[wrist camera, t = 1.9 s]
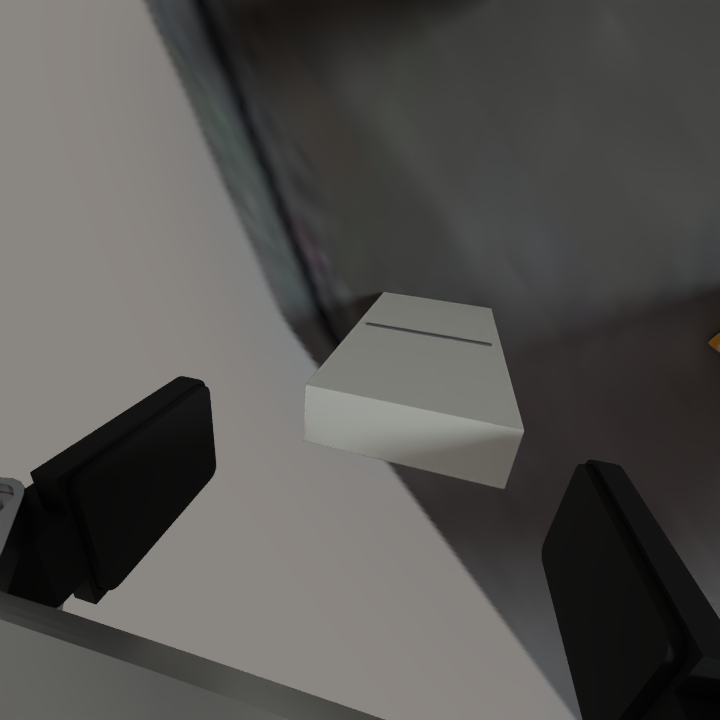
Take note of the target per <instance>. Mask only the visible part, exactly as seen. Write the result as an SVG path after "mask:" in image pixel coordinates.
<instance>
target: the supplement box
mask: <svg viewBox="0 0 720 720" xmlns="http://www.w3.org/2000/svg"><path fill="white" fill-rule="evenodd" d="M709 345H710V346H711V347H713V348H714V349H715V350H717V351H718V352H719V353H720V333H718V334H717V335H716V336H715V337H713V338H712V339H711V340H710V341H709Z"/></svg>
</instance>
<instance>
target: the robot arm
mask: <svg viewBox="0 0 720 720" xmlns="http://www.w3.org/2000/svg"><path fill="white" fill-rule="evenodd" d="M215 470H216V457H215V446H214V435H213V423H212V411H211V400H210V391H209V388H208V387H206V386H205V384H204V382H203V381H201V380H199V379H194V378H189V377H184V376H180V377H177V378H176V379H174V380H173V381H171V382H169V383H168V384H166V385H165V386H163V387H162V388H161V389H159V390H157V391H156V392H154V393H152V394H151V395H149V396H148V397H146V398H145V399H143V400H142V401H140V402H139V403H137V404H135V405H134V406H132V407H131V408H129V409H128V410H126V411H125V412H123V413H121V414H120V415H118V416H117V417H115V418H114V419H112V420H111V421H109V422H108V423H106V424H104V425H103V426H101V427H100V428H98V429H97V430H95V431H94V432H92V433H91V434H89V435H87V436H86V437H84V438H83V439H81V440H80V441H78V442H77V443H75V444H73V445H72V446H70V447H69V448H67V449H66V450H64V451H63V452H61V453H59V454H58V455H56V456H55V457H53V458H52V459H50V460H49V461H47V462H46V463H44V464H42V465H41V466H39V467H38V468H36V469H35V470H33V471H32V472H30V474H31V476H32V479H33V482H34V483H33V484H31V485H30V486H28V487H27V488H25V487H24V486H23V484H22V483H21V482H20V481H18V480H16V479H13V478H1V477H0V720H384V719H381V718H378V717H375V716H373V715H370V714H367V713H364V712H361V711H358V710H355V709H352V708H349V707H346V706H343V705H340V704H338V703H335V702H332V701H329V700H326V699H323V698H320V697H317V696H314V695H311V694H308V693H305V692H302V691H299V690H297V689H294V688H291V687H288V686H285V685H282V684H279V683H276V682H273V681H270V680H267V679H264V678H261V677H258V676H255V675H253V674H249V673H247V672H244V671H240V670H238V669H235V668H232V667H229V666H226V665H223V664H220V663H217V662H214V661H211V660H208V659H205V658H203V657H199V656H197V655H194V654H191V653H188V652H185V651H182V650H179V649H176V648H173V647H170V646H167V645H164V644H161V643H158V642H155V641H152V640H149V639H146V638H143V637H140V636H137V635H134V634H131V633H128V632H125V631H122V630H119V629H116V628H113V627H110V626H107V625H104V624H101V623H98V622H95V621H92V620H89V619H86V618H83V617H80V616H77V615H74V614H71V613H68V612H65V611H62V610H63V604H64V602H65V601H66V600H67V599H68V597H69V596H70V595H71V594H72V593H73V594H74V596H75V598H78V599H81V600H84V601H87V602H90V603H93V604H97V603H98V602H99V601H100V600H101V599H102V597H103V596H104V595H105V594H106V593H107V592H108V590H113V589H115V588H116V587H118V586H119V584H121V582H123V580H124V579H125V578H126V577H127V575H129V573H130V572H131V571H132V570H133V569H134V568H135V566H136V565H137V564H138V563H139V562H140V561H141V560H142V558H143V557H144V556H145V555H146V554H147V553H148V551H149V550H150V549H151V548H152V547H153V545H154V544H155V543H156V542H157V541H158V540H159V538H160V537H161V536H162V535H163V534H164V533H165V532H166V530H167V529H168V528H169V527H170V526H171V525H172V523H173V522H174V521H175V520H176V519H177V518H178V517H179V515H180V514H181V513H182V512H183V511H184V510H185V508H186V507H187V506H188V505H189V504H190V503H191V502H192V500H193V499H194V498H195V497H196V496H197V494H198V493H199V492H200V491H201V490H202V489H203V488H204V486H205V485H206V484H207V483H208V482H209V481H210V479H211V478H212V477H213V475H214V473H215ZM542 562H543V566H544V570H545V574H546V578H547V582H548V586H549V590H550V594H551V598H552V602H553V605H554V609H555V613H556V617H557V621H558V625H559V629H560V633H561V637H562V641H563V645H564V649H565V653H566V656H567V660H568V664H569V668H570V672H571V676H572V680H573V684H574V688H575V692H576V696H577V700H578V704H579V707H580V711H581V715H582V719H583V720H720V619H719V618H718V616H717V614H716V613H715V611H714V610H713V608H712V607H711V605H710V604H709V602H708V600H707V599H706V597H705V596H704V594H703V593H702V591H701V590H700V588H699V586H698V585H697V583H696V582H695V580H694V579H693V577H692V576H691V574H690V572H689V571H688V569H687V568H686V566H685V565H684V563H683V562H682V560H681V559H680V557H679V555H678V554H677V552H676V551H675V549H674V548H673V546H672V545H671V543H670V541H669V540H668V538H667V537H666V535H665V534H664V532H663V531H662V529H661V527H660V526H659V524H658V523H657V521H656V520H655V518H654V517H653V515H652V513H651V512H650V510H649V509H648V507H647V506H646V504H645V503H644V501H643V499H642V498H641V496H640V495H639V493H638V492H637V490H636V489H635V487H634V486H633V484H632V482H631V481H630V479H629V478H628V476H627V475H626V473H625V472H624V470H623V469H622V468H621V466H619V465H616V464H611V463H606V462H601V461H596V460H588V461H587V462H586V463H585V465H584V464H579V465H578V466H577V467H576V469H575V471H574V474H573V476H572V478H571V481H570V483H569V485H568V488H567V490H566V492H565V495H564V497H563V499H562V502H561V504H560V506H559V509H558V511H557V513H556V516H555V518H554V520H553V523H552V525H551V527H550V530H549V532H548V534H547V537H546V539H545V541H544V544H543V547H542Z"/></svg>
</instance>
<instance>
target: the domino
mask: <svg viewBox="0 0 720 720" xmlns="http://www.w3.org/2000/svg"><path fill="white" fill-rule="evenodd" d="M523 433H524V428H523V424H522V420H521V417H520V413H519V409H518V406H517V402H516V398H515V395H514V391H513V387H512V384H511V380H510V376H509V373H508V369H507V365H506V362H505V358H504V354H503V351H502V347H501V343H500V340H499V336H498V332H497V329H496V325H495V321H494V318H493V314H492V310H491V308H485V307H479V306H472V305H466V304H459V303H453V302H446V301H440V300H433V299H427V298H420V297H414V296H407V295H400V294H394V293H387V292H383V294H382V295H381V296H380V297H379V298H378V300H377V301H376V302H375V303H374V304H373V305H372V307H371V308H370V309H369V310H368V311H367V313H366V314H365V315H364V316H363V317H362V319H361V320H360V321H359V322H358V323H357V324H356V326H355V327H354V328H353V329H352V330H351V332H350V333H349V334H348V335H347V336H346V337H345V339H344V340H343V341H342V342H341V343H340V345H339V346H338V347H337V348H336V349H335V351H334V352H333V353H332V354H331V355H330V356H329V358H328V359H327V360H326V361H325V362H324V364H323V365H322V366H321V367H320V368H319V369H318V371H317V372H316V373H315V374H314V375H313V377H312V378H311V379H310V380H309V382H308V383H307V384H306V390H305V419H304V441H306V442H310V443H314V444H318V445H322V446H327V447H330V448H335V449H339V450H343V451H347V452H351V453H356V454H360V455H364V456H368V457H372V458H376V459H380V460H384V461H389V462H393V463H397V464H401V465H405V466H409V467H414V468H418V469H422V470H426V471H430V472H434V473H439V474H443V475H447V476H451V477H455V478H459V479H463V480H468V481H472V482H476V483H480V484H484V485H488V486H493V487H497V488H501V489H505V486H506V483H507V480H508V477H509V474H510V471H511V468H512V465H513V462H514V460H515V457H516V454H517V451H518V448H519V445H520V442H521V439H522V436H523Z"/></svg>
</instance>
